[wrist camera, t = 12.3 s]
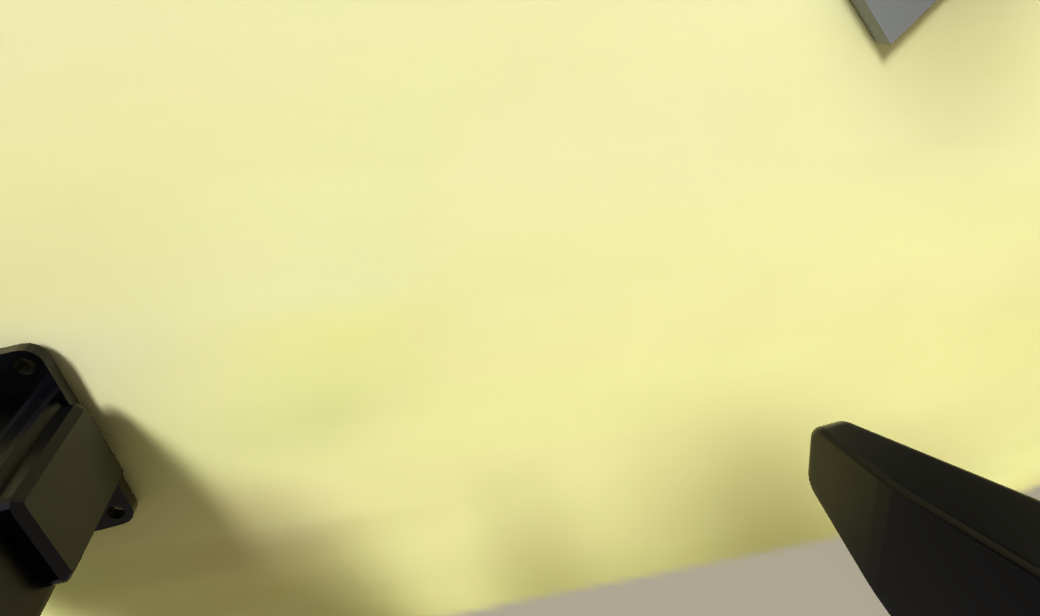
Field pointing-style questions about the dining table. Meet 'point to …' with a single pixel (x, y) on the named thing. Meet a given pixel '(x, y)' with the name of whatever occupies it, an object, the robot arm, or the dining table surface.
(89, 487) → the robot arm
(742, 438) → the dining table surface
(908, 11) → the rubber mat
